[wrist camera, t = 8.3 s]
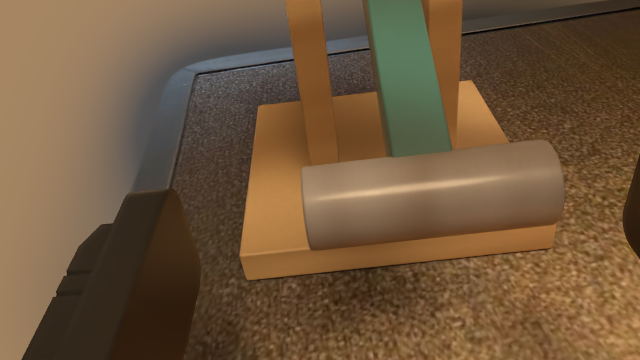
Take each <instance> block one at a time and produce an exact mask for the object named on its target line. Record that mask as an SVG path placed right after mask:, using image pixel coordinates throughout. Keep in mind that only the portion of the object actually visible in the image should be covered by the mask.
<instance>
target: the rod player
mask: <svg viewBox="0 0 640 360" xmlns="http://www.w3.org/2000/svg"><path fill="white" fill-rule="evenodd" d="M362 1H363V8H364V14H365V21H366V27H367V34H368V40H369V47H370V53H371V60H372V66H373V73H374V79H375V86H376V92H377V98H378V105H379V111H380V118H381V124H382V131H383V137H384V144H385V150H386V157H383V158H374V159H365V160H357V161H348V162H339V163H331V164H322V165H313V166H305V167H302V169H301V195H302V206H303V215H304V223H305V229H306V236H307V241H308V245H309V248H310V250H312V251H319V250H328V249H337V248H346V247H356V246H365V245H374V244H383V243H392V242H402V241H411V240H420V239H429V238H439V237H448V236H457V235H466V234H475V233H485V232H494V231H503V230H512V229H522V228H531V227H540V226H549V225H554V224H555V223H557V222H558V221H559V220H560V218H561V216H562V213H563V209H564V203H565V185H564V177H563V172H562V168H561V164H560V161H559V158H558V156H557V154H556V152H555V150H554V148H553V147H552V145H551V144H550V143H549V142H547V141H545V140H542V139H539V140H530V141H522V142H513V143H504V144H495V145H487V146H478V147H469V148H461V149H452V145H451V140H450V135H449V131H448V126H447V121H446V117H445V112H444V107H443V103H442V98H441V93H440V88H439V84H438V79H437V74H436V70H435V65H434V60H433V55H432V51H431V46H430V41H429V37H428V32H427V27H426V23H425V18H424V13H423V8H422V4H421V0H362Z"/></svg>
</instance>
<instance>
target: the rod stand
mask: <svg viewBox="0 0 640 360" xmlns="http://www.w3.org/2000/svg"><path fill="white" fill-rule="evenodd" d="M285 4H286V10H287V17H288V23H289V30H290V36H291V42H292V49H293V55H294V62H295V68H296V75H297V81H298V88H299V94H300V101H295V102H286V103H278V104H270V105H261V106H259V107H258V113H257V121H256V129H255V137H254V145H253V152H252V160H251V168H250V176H249V184H248V192H247V200H246V207H245V215H244V223H243V231H242V239H241V247H240V255H239V257H240V260H241V264H242V267H243V270H244V274H245V277H246V279H247V280H258V279H267V278H276V277H286V276H295V275H304V274H314V273H323V272H333V271H342V270H351V269H361V268H370V267H379V266H389V265H398V264H408V263H417V262H426V261H436V260H445V259H454V258H464V257H473V256H483V255H492V254H501V253H511V252H520V251H529V250H539V249H548V248H551V247H552V245H553V240H554V235H555V230H556V225H557V223H555V224H554V225H549V226H540V227H531V228H522V229H512V230H503V231H494V232H485V233H475V234H466V235H457V236H448V237H439V238H429V239H420V240H411V241H402V242H392V243H383V244H374V245H365V246H356V247H346V248H337V249H328V250H319V251H312V250H310V248H309V245H308V241H307V236H306V229H305V223H304V215H303V206H302V195H301V169H302V167H305V166H313V165H322V164H331V163H339V162H348V161H357V160H365V159H374V158H383V157H386V150H385V144H384V137H383V131H382V124H381V118H380V111H379V105H378V98H377V92H369V93H361V94H353V95H344V96H336V97H332V92H331V84H330V75H329V66H328V58H327V49H326V40H325V31H324V23H323V14H322V6H321V0H285ZM421 4H422V8H423V13H424V18H425V23H426V27H427V32H428V37H429V41H430V46H431V51H432V55H433V60H434V65H435V70H436V74H437V79H438V84H439V88H440V93H441V98H442V103H443V107H444V112H445V117H446V121H447V126H448V131H449V135H450V140H451V145H452V149H461V148H469V147H478V146H487V145H495V144H504V143H509V141H508V140H507V138H506V136H505V135H504V133H503V131H502V130H501V128H500V126H499V125H498V123H497V121H496V120H495V118H494V117H493V115H492V113H491V112H490V110H489V108H488V107H487V105H486V103H485V102H484V100H483V98H482V97H481V95H480V93H479V92H478V90H477V89H476V87H475V85H474V84H473V82H472V81H471V80H469V81H461V82H459V72H460V50H461V28H462V6H463V0H421Z"/></svg>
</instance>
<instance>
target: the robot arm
mask: <svg viewBox="0 0 640 360" xmlns="http://www.w3.org/2000/svg"><path fill="white" fill-rule="evenodd" d="M623 227H624V232H625V236H626V238H627V241H628V243H629V244H630V246H631V248H632V249H633V250H634V252H635V253H636V254H637V256H638V257H639V259H640V155H639V159H638V162H637V166H636V169H635V172H634V176H633V179H632V183H631V186H630V189H629V193H628V196H627V200H626V203H625V206H624V210H623ZM200 276H201V272H200V260H199V255H198V251H197V248H196V245H195V242H194V239H193V236H192V233H191V231H190V228H189V225H188V222H187V219H186V216H185V213H184V210H183V207H182V205H181V202H180V199H179V196H178V194H177V193H176V191H175V190H174V189H172V188H170V189H161V190H151V191H142V192H132V193H129V194H127V195H126V197H125V199H124V201H123V203H122V205H121V207H120V210H119V212H118V214H117V216H116V219H115V221H114V223H112V224H103V225H100V226H99V227H98V228H97V229H96V230H95V231H94V232H93V233H92V234H91V235H90V236H89V237H88V238H87V239H86V240H85V241H84V242H83V243H82V244H81V245H80V246H79V247H78V249H77V252H76V253H75V255H74V257H73V259H72V261H71V263H70V265H69V267H68V269H67V276H64V277H63V279H62V281H61V283H60V285H59V287H58V289H57V291H56V293H57V295H56V297H53V299H52V301H51V303H50V305H49V306H48V308H47V311H46V312H45V314H44V316H43V318H42V320H41V322H40V324H39V326H38V328H37V330H36V332H35V334H34V336H33V338H32V340H31V342H30V344H29V346H28V348H27V350H26V352H25V354H24V356H23V358H22V360H183V359H184V355H185V350H186V346H187V341H188V337H189V332H190V327H191V323H192V318H193V314H194V309H195V305H196V300H197V295H198V291H199V286H200Z"/></svg>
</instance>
